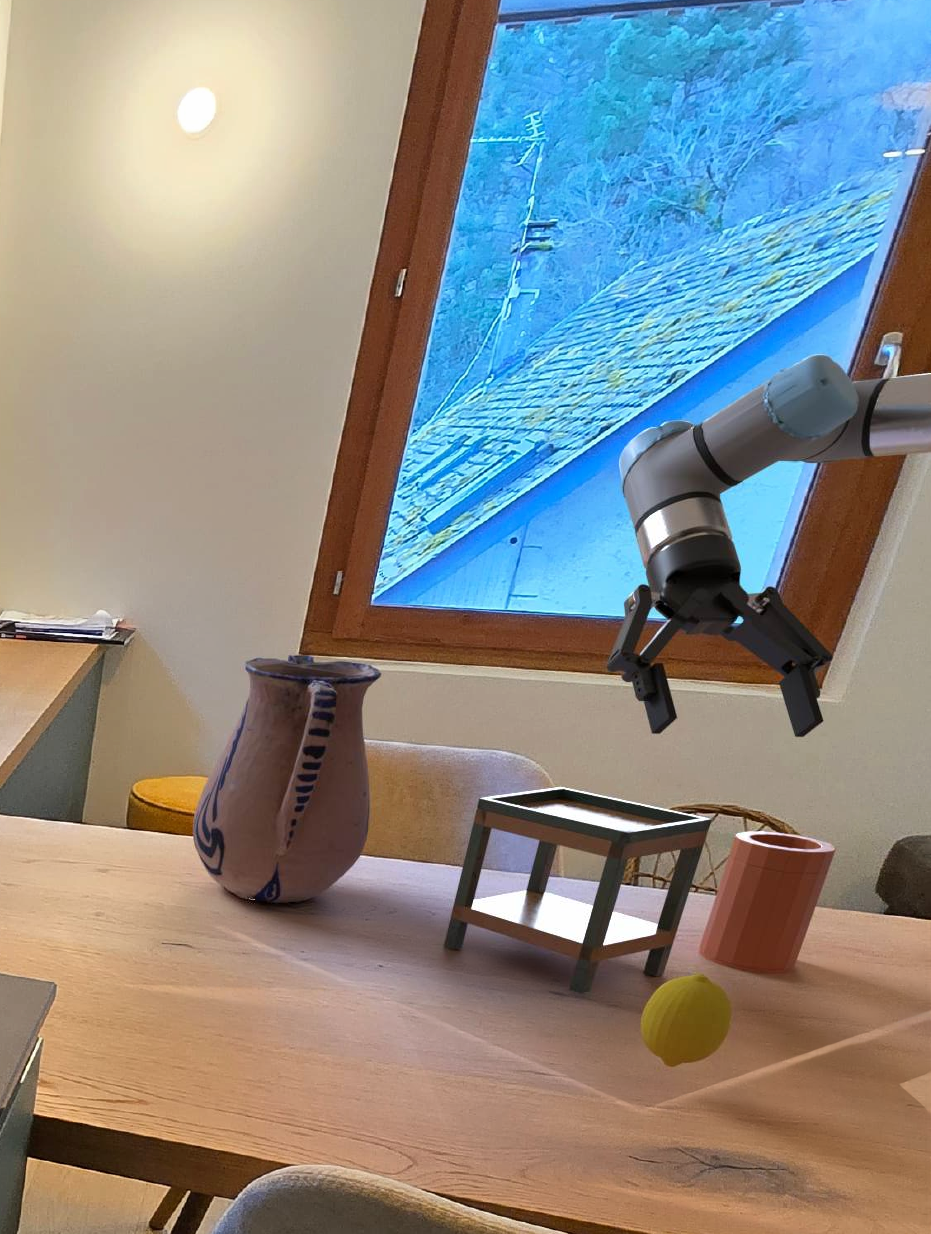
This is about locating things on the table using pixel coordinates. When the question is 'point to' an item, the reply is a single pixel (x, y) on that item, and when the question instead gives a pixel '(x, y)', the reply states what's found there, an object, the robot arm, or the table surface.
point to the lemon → (686, 1020)
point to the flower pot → (766, 901)
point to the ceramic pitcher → (289, 783)
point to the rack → (598, 928)
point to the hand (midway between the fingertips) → (736, 727)
